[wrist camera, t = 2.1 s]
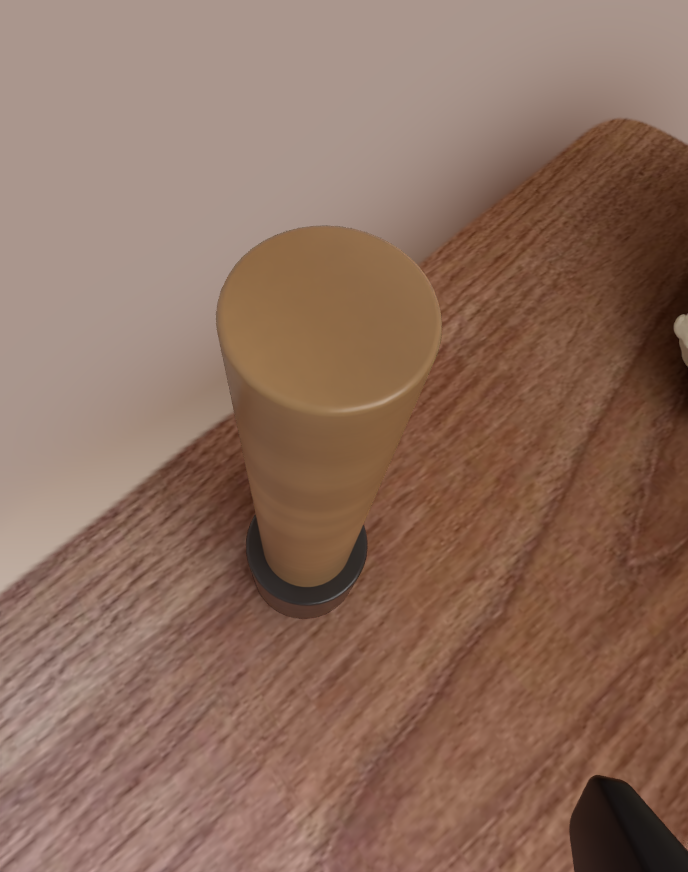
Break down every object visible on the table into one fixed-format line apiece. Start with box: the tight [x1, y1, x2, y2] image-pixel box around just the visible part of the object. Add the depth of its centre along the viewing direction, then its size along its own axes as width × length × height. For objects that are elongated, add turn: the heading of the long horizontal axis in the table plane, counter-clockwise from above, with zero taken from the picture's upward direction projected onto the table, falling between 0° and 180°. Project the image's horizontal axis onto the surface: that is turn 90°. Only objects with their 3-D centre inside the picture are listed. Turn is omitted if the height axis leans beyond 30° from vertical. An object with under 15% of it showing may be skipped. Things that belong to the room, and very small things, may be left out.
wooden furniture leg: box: [216, 226, 442, 619], centre depth 13 cm, size 4×4×15 cm
